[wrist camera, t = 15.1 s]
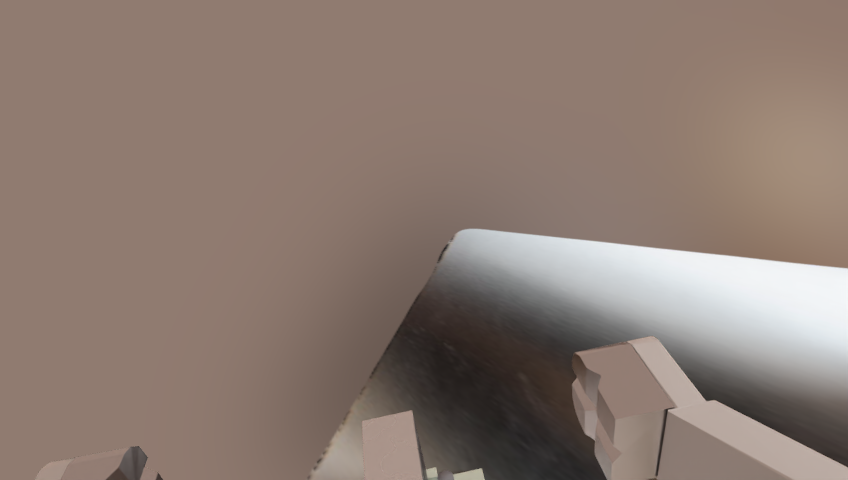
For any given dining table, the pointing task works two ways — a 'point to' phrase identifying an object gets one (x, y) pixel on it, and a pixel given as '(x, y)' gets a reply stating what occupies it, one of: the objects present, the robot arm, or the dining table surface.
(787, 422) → the dining table surface
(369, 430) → the block
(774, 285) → the dining table surface
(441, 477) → the peg board
